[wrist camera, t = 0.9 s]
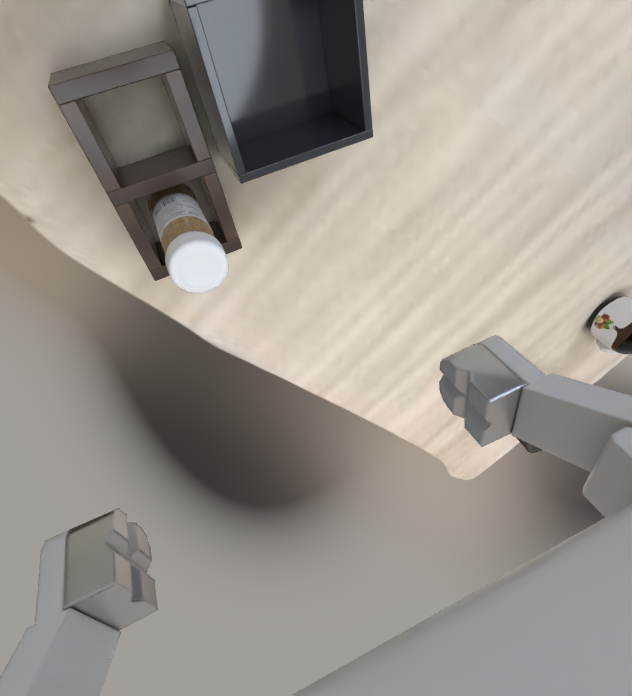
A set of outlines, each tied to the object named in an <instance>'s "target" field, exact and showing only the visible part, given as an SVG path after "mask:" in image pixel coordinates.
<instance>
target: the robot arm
mask: <svg viewBox="0 0 632 696" xmlns="http://www.w3.org/2000/svg"><path fill="white" fill-rule="evenodd" d="M440 371H441V372H442V373H443V374H444V375H443V377H442V378H441V380H440V381H439V385H440V393H441V395H442V398H443V400H444V402H445V404H446V405H447V407H448V408H449V409H450V411H451V412H452V413H453V414H454V415H457V416H460V417H462V418H464V421H465V428H466V429H467V431H468V432H469V433H470V434H471V435H472V436H473V437H474V439H475V440H476V441H477V442H478V443H479V444H480V446H481V447H483V446H485V445H487V444H489V443H491V442H494V441H496V440H498V439H500V438H502V437H504V436H506V435H509V434H511V433H512V434H511V435H512V436H514V437H516V438H519V439H521V440H523V441H525V442H527V443H529V444H531V445H534V446H536V447H538V448H540V449H542V450H544V451H546V452H549V453H551V454H553V455H555V456H557V457H559V458H561V459H564V460H566V461H568V462H570V463H572V464H574V465H576V466H579V467H581V468H583V469H585V470H587V471H589V472H591V474H590V476H589V477H588V479H587V481H586V483H585V485H584V487H583V495H584V496H585V497H586V498H587V499H588V500H589V501H590V502H591V503H592V504H593V505H594V506H595V507H596V508H597V509H598V510H599V511H600V512H601V513H602V515H603V516H604V517H605V519H603V520H601V521H599V522H597V523H595V524H594V525H592V526H590V527H588V528H587V529H585V530H583V531H581V532H580V533H578V534H576V535H574V536H572V537H571V538H569V539H567V540H565V541H564V542H562V543H560V544H558V545H556V546H555V547H553V548H551V549H549V550H548V551H546V552H544V553H543V554H541V555H539V556H537V557H535V558H533V559H532V560H530V561H528V562H526V563H525V564H523V565H521V566H519V567H518V568H516V569H514V570H512V571H510V572H509V573H507V574H505V575H503V576H502V577H500V578H498V579H496V580H495V581H493V582H491V583H489V584H487V585H486V586H484V587H482V588H480V589H478V590H477V591H475V592H473V593H472V594H470V595H468V596H466V597H464V598H463V599H461V600H459V601H457V602H455V603H454V604H452V605H451V606H449V607H447V608H445V609H443V610H441V611H439V612H438V613H436V614H434V615H432V616H431V617H429V618H427V619H425V620H424V621H422V622H420V623H418V624H416V625H415V626H413V627H411V628H409V629H408V630H406V631H404V632H402V633H400V634H399V635H397V636H395V637H393V638H392V639H390V640H388V641H386V642H385V643H383V644H381V645H379V646H378V647H376V648H374V649H372V650H370V651H369V652H367V653H365V654H363V655H362V656H360V657H358V658H357V659H354V660H353V661H351V662H349V663H348V664H346V665H344V666H342V667H340V668H338V669H337V670H335V671H333V672H332V673H330V674H328V675H326V676H324V677H322V678H321V679H319V680H317V681H315V682H314V683H312V684H310V685H308V686H307V687H305V688H303V689H301V690H299V691H298V692H296V693H294V694H292V695H291V696H632V396H630V395H626V394H623V393H619V392H615V391H612V390H608V389H605V388H601V387H597V386H594V385H591V384H587V383H584V382H580V381H577V380H573V379H570V378H566V377H562V376H559V375H555V374H549V375H547V376H546V375H545V374H544V373H543V372H542V371H540V370H539V369H538V368H537V367H536V366H534V365H533V364H532V363H531V362H530V361H528V360H527V359H526V358H525V357H524V356H522V355H521V354H520V353H519V352H518V351H517V350H515V349H514V348H513V347H512V346H511V345H509V344H508V343H507V342H506V341H505V340H503V339H502V338H501V337H499V336H496V335H495V336H491V337H489V338H487V339H485V340H483V341H481V342H479V343H477V344H473V345H471V346H469V347H467V348H465V349H463V350H461V351H459V352H456V353H454V354H452V355H450V356H448V357H446V358H444V359H442V361H441V362H440ZM151 561H152V555H151V548H150V545H149V542H148V539H147V536H146V534H145V532H144V531H143V529H142V528H141V527H140V526H139V525H138V524H137V523H133V522H127V514H126V513H124V512H123V511H122V510H120V509H119V508H118V509H116V510H113V511H111V512H109V513H107V514H104V515H102V516H100V517H97V518H95V519H93V520H90V521H88V522H86V523H84V524H81V525H79V526H77V527H75V528H72V529H70V530H68V531H65V532H63V533H61V534H59V535H56V536H54V537H52V538H50V539H48V540H45V542H44V545H43V547H42V549H41V555H40V568H39V579H38V592H37V604H36V617H35V624H34V625H33V626H31V627H29V628H28V629H27V630H26V632H25V633H24V635H23V637H22V639H21V641H20V642H19V644H18V646H17V648H16V650H15V651H14V653H13V655H12V657H11V659H10V660H9V662H8V664H7V666H6V667H5V669H4V671H3V673H2V675H1V676H0V696H100V693H101V690H102V687H103V684H104V681H105V678H106V675H107V672H108V669H109V666H110V663H111V660H112V657H113V655H114V652H115V649H116V646H117V643H118V640H119V637H120V634H121V632H120V631H119V630H121V629H123V628H125V627H127V626H129V625H130V624H133V623H134V622H136V621H138V620H140V619H142V618H144V617H146V616H148V615H149V614H151V613H153V612H155V611H157V610H158V608H157V599H156V590H155V581H154V579H153V578H152V577H151V576H149V575H148V574H147V570H148V568H149V566H150V564H151Z"/></svg>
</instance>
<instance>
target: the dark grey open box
mask: <svg viewBox="0 0 632 696" xmlns="http://www.w3.org/2000/svg"><path fill="white" fill-rule="evenodd" d="M169 3H170V6H171V9H172V12H173V15H174V18H175V21H176V24H177V27H178V30H179V33H180V36H181V39H182V42H183V45H184V48H185V51H186V54H187V57H188V60H189V64H190V67H191V70H192V73H193V76H194V79H195V82H196V85H197V88H198V91H199V94H200V97H201V100H202V103H203V106H204V109H205V112H206V115H207V118H208V121H209V124H210V127H211V130H212V133H213V136H214V139H215V142H216V145H217V148H218V151H219V154H220V156H221V158H222V159H223V160H224V162H225V163H226V164H227V166H228V167H229V168H230V170H231V171H232V172H233V174H234V175H235V176H236V178H237V179H238V180H239V182H240V183H244V182H247V181H250V180H253V179H255V178H258V177H261V176H264V175H267V174H270V173H272V172H275V171H278V170H281V169H284V168H287V167H289V166H292V165H295V164H298V163H301V162H304V161H306V160H309V159H312V158H315V157H318V156H321V155H323V154H326V153H329V152H332V151H335V150H337V149H340V148H343V147H346V146H349V145H352V144H354V143H357V142H360V141H363V140H366V139H369V138H371V137H373V129H372V117H371V104H370V90H369V77H368V64H367V50H366V37H365V24H364V11H363V0H169Z"/></svg>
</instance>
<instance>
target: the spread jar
mask: <svg viewBox="0 0 632 696" xmlns="http://www.w3.org/2000/svg"><path fill="white" fill-rule="evenodd" d="M589 328H590V332H591V334H592V335H593V336H594V337H595V338H596V343H597V345H598V347H599V349H600V350H602V351H603V352H606V353H622V354H632V298H630V297H625V296H619V297H614V298H611V299H609V300H607V301H605V302H604V303H603V304H601V305H600V306H599V307H598V308H597V309H596V310H595V312H594V313H593V315H592V316H591V319H590V323H589Z"/></svg>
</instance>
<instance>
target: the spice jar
mask: <svg viewBox="0 0 632 696" xmlns="http://www.w3.org/2000/svg"><path fill="white" fill-rule="evenodd" d="M149 209H150V211H151V213H152V215H153V218H154V221H155V225H156V228H157V232H158V235H159V238H160V241H161V244H162V246H163V249H164V252H165V255H166V256H165V262H166V266H167V269H168V272H169V275H170V277H171V279H172V281H173V282H174V283H175V284H176V285H177V286H178V287H179V288H181V289H182V290H184V291H187V292H191V293H204V292H208V291H210V290H213V289H214V288H216V287H217V286H219V285H220V284H221V283H222V282H223V280H224V279H225V277H226V275H227V272H228V266H229V264H228V258H227V255H226V253H225V251H224V249H223V247H222V245H221V244H220V242H219V241H218V240H217V239H216V238H215V237H214V235H213V232H212V229H211V227H210V225H209V224H208V222H207V220H206V218H205V216H204V214H203V212H202V210H201V208H200V206H199V204H198V203H197V201H196V197H195V195H194V193H193V192H192V190H191V189H190V188H189V187H188V186H187V185H185V184H184V183H182V184H179V185H176V186H173V187H170V188H167V189H164V190H161V191H158V192H156V193H153V194H150V197H149Z"/></svg>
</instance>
